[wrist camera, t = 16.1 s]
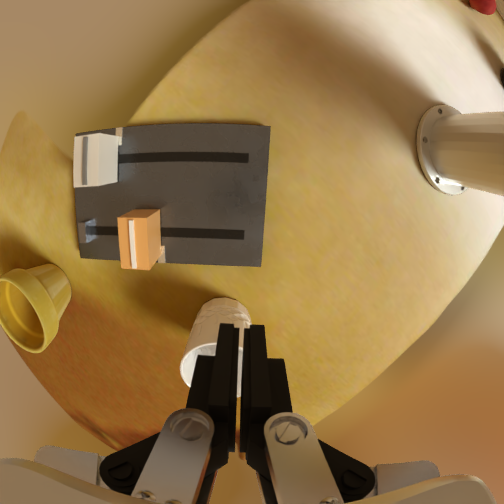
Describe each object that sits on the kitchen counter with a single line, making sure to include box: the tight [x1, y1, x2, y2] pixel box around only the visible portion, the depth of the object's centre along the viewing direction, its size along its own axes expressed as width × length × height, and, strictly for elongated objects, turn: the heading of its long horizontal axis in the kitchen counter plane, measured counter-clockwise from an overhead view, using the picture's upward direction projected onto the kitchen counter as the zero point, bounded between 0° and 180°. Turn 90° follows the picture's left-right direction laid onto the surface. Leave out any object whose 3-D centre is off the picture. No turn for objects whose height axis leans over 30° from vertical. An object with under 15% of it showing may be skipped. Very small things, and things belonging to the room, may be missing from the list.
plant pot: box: [0, 264, 71, 353], centre depth 26 cm, size 10×10×10 cm
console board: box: [75, 123, 271, 267], centre depth 27 cm, size 22×15×3 cm
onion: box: [469, 0, 497, 15], centre depth 14 cm, size 6×6×8 cm
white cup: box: [180, 297, 252, 397], centre depth 29 cm, size 8×8×10 cm
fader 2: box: [117, 209, 161, 270], centre depth 26 cm, size 3×5×5 cm, turn 177°
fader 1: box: [73, 133, 119, 188], centre depth 23 cm, size 3×5×5 cm, turn 177°
